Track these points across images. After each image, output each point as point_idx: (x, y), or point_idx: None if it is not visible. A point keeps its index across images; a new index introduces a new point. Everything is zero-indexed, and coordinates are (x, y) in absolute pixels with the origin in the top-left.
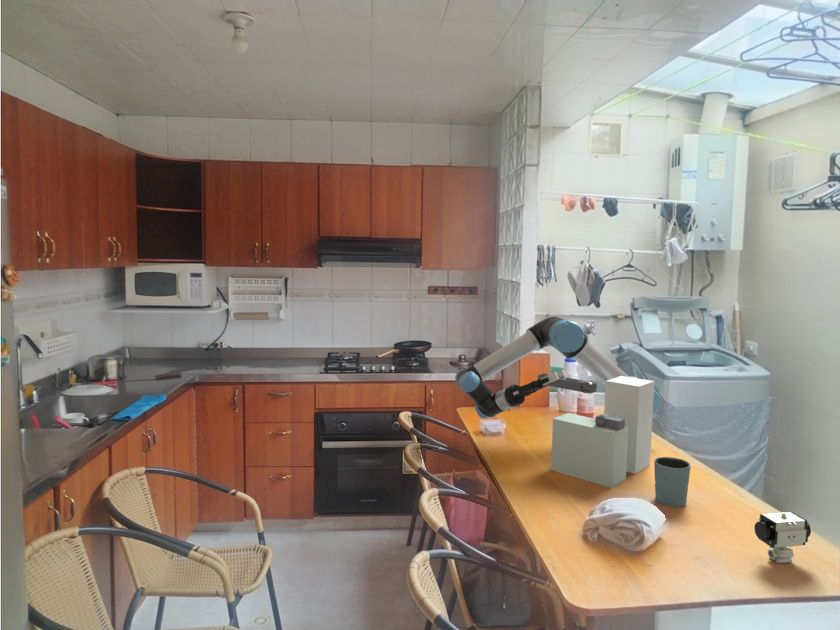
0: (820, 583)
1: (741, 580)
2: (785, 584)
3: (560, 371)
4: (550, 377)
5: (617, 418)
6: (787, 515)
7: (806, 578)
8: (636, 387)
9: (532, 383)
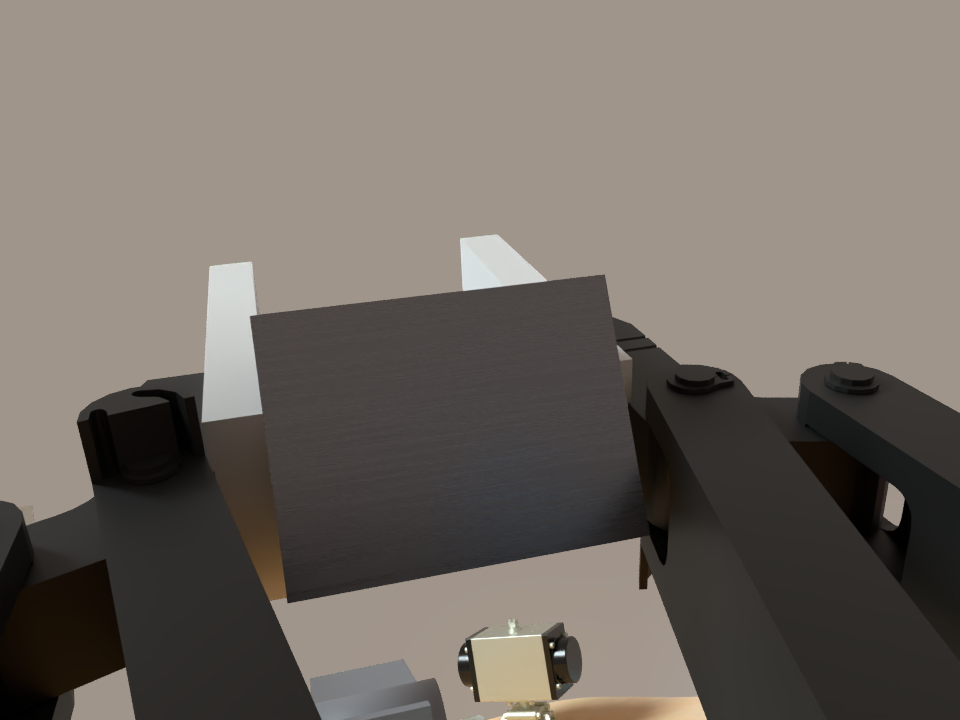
0: (554, 707)
1: (701, 716)
2: (624, 708)
3: (252, 284)
4: None
5: (339, 683)
6: (494, 633)
7: (559, 714)
8: (25, 518)
9: (875, 459)
